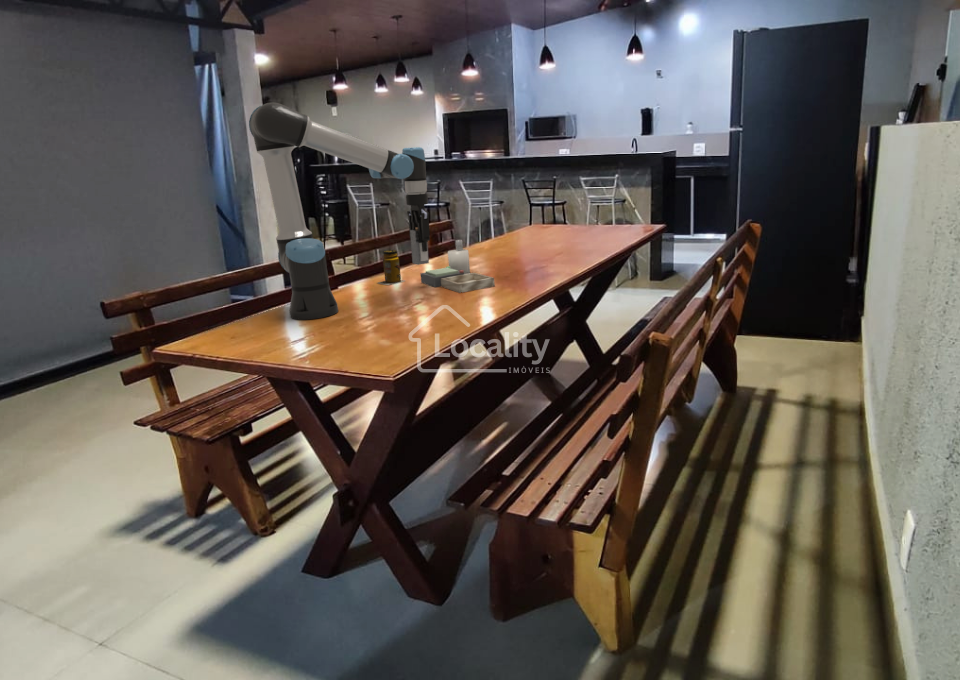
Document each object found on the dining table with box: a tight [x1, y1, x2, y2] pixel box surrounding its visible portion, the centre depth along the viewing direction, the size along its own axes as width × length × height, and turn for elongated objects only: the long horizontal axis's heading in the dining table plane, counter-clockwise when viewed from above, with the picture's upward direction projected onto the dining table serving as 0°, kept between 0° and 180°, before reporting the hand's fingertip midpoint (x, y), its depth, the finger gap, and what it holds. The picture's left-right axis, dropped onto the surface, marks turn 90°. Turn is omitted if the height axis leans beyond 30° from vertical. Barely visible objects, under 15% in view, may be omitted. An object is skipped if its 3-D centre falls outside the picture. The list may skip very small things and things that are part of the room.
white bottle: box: [447, 239, 471, 274], centre depth 260 cm, size 8×8×13 cm
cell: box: [409, 227, 430, 266], centre depth 239 cm, size 4×4×13 cm
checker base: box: [420, 265, 464, 288], centre depth 248 cm, size 12×12×4 cm
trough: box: [440, 272, 496, 294], centre depth 238 cm, size 14×14×3 cm
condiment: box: [377, 249, 405, 286], centre depth 254 cm, size 7×8×12 cm
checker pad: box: [425, 267, 458, 277], centre depth 248 cm, size 9×9×2 cm
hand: (421, 259), depth 240 cm, fingers closed on cell, 4 cm apart
